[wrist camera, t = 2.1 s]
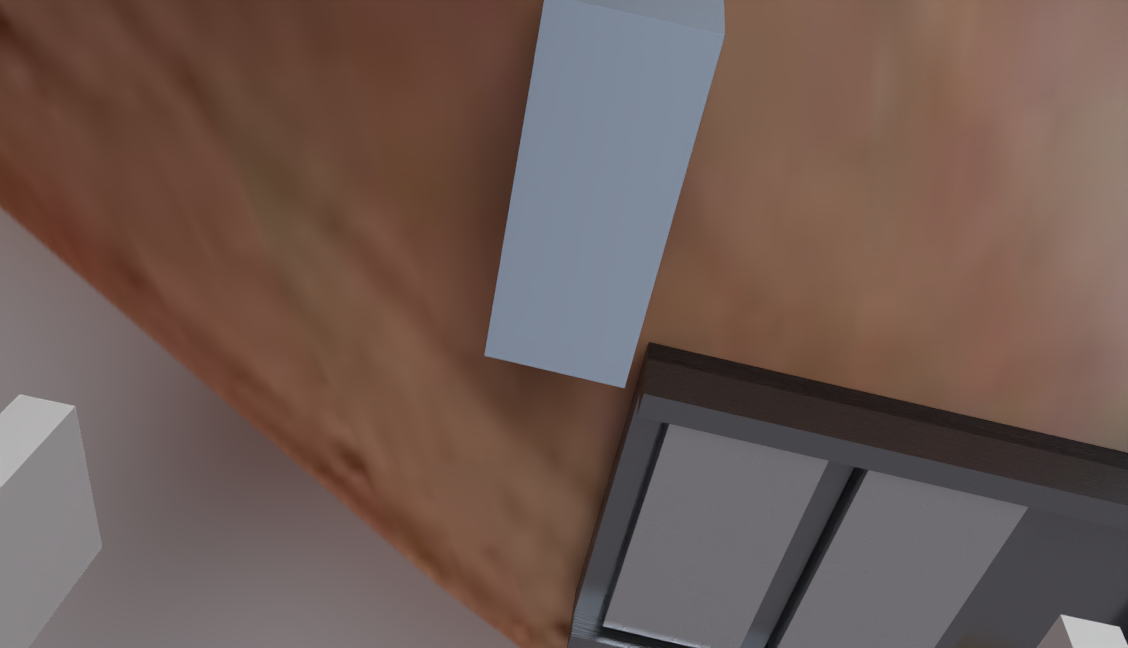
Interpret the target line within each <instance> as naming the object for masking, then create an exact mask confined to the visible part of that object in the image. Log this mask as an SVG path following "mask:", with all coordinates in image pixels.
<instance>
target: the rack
mask: <svg viewBox="0 0 1128 648" xmlns="http://www.w3.org/2000/svg"><path fill="white" fill-rule="evenodd" d="M1060 614H1061V615H1066V616H1070V617H1075V618H1080V619H1084V620H1089V621H1094V622H1099V623H1103V624H1108V625H1113V626H1118V627H1120V629H1121V631H1122V633H1123V636H1124V638H1125V640H1126V642H1127V645H1128V453H1126V452H1121V451H1117V450H1113V449H1108V448H1104V447H1100V446H1095V445H1091V444H1087V443H1082V442H1078V441H1074V440H1069V439H1065V438H1061V437H1056V436H1052V435H1048V434H1043V433H1039V432H1035V431H1030V430H1026V429H1022V428H1017V427H1013V426H1009V425H1004V424H1000V423H996V422H992V421H987V420H983V419H979V418H974V417H970V416H966V415H961V414H957V413H953V412H948V411H944V410H940V409H935V408H931V407H927V406H922V405H918V404H914V403H909V402H905V401H901V400H896V399H892V398H888V397H883V396H879V395H875V394H870V393H866V392H862V391H857V390H853V389H849V388H844V387H840V386H836V385H831V384H827V383H823V382H818V381H814V380H810V379H805V378H801V377H797V376H792V375H788V374H784V373H779V372H775V371H771V370H766V369H762V368H758V367H753V366H749V365H745V364H741V363H736V362H732V361H728V360H723V359H719V358H715V357H710V356H706V355H702V354H697V353H693V352H689V351H684V350H680V349H676V348H671V347H667V346H663V345H658V344H654V343H650V342H649V345H648V348H647V351H646V355H645V358H644V362H643V365H642V369H641V372H640V375H639V379H638V382H637V386H636V389H635V392H634V396H633V399H632V403H631V406H630V409H629V413H628V416H627V420H626V423H625V427H624V430H623V433H622V437H621V440H620V444H619V447H618V450H617V454H616V457H615V461H614V464H613V467H612V471H611V474H610V478H609V481H608V485H607V488H606V491H605V495H604V498H603V502H602V505H601V508H600V512H599V515H598V519H597V522H596V525H595V529H594V532H593V536H592V539H591V543H590V546H589V549H588V553H587V556H586V560H585V563H584V566H583V570H582V573H581V577H580V580H579V583H578V587H577V590H576V594H575V600H574V607H573V613H572V619H571V626H570V632H569V638H568V645H567V648H1037V646H1038V645H1039V644H1040V642H1041V641H1042V639H1043V638H1044V637H1045V635H1046V634H1047V632H1048V631H1049V630H1050V628H1051V627H1052V626H1053V624H1054V623H1055V621H1056V620H1057V619H1058V617H1059V616H1060Z"/></svg>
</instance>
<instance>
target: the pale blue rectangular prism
mask: <svg viewBox="0 0 1128 648" xmlns="http://www.w3.org/2000/svg"><path fill="white" fill-rule="evenodd" d="M724 36H725V18H724V0H544V4H543V10H542V16H541V22H540V28H539V34H538V40H537V46H536V52H535V57H534V63H533V69H532V75H531V81H530V87H529V93H528V99H527V105H526V111H525V117H524V123H523V129H522V135H521V141H520V147H519V153H518V159H517V165H516V171H515V177H514V182H513V188H512V194H511V200H510V206H509V212H508V218H507V224H506V230H505V236H504V242H503V248H502V254H501V260H500V266H499V272H498V278H497V284H496V290H495V296H494V301H493V307H492V313H491V319H490V325H489V331H488V337H487V343H486V349H485V355H484V356H488V357H492V358H497V359H501V360H505V361H509V362H514V363H518V364H522V365H527V366H531V367H535V368H540V369H544V370H548V371H553V372H557V373H561V374H566V375H570V376H574V377H578V378H583V379H587V380H591V381H596V382H600V383H604V384H609V385H613V386H617V387H622V388H625V385H626V381H627V378H628V374H629V371H630V367H631V364H632V360H633V357H634V353H635V350H636V346H637V343H638V339H639V336H640V332H641V328H642V325H643V321H644V318H645V314H646V311H647V307H648V304H649V300H650V297H651V293H652V290H653V286H654V283H655V279H656V276H657V272H658V269H659V265H660V262H661V258H662V255H663V251H664V248H665V244H666V241H667V237H668V233H669V230H670V226H671V223H672V219H673V216H674V212H675V209H676V205H677V202H678V198H679V195H680V191H681V188H682V184H683V181H684V177H685V174H686V170H687V167H688V163H689V160H690V156H691V153H692V149H693V146H694V142H695V138H696V135H697V131H698V128H699V124H700V121H701V117H702V114H703V110H704V107H705V103H706V100H707V96H708V93H709V89H710V86H711V82H712V79H713V75H714V72H715V68H716V65H717V61H718V58H719V54H720V51H721V47H722V43H723V40H724Z"/></svg>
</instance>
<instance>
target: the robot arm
mask: <svg viewBox="0 0 1128 648" xmlns="http://www.w3.org/2000/svg"><path fill="white" fill-rule="evenodd" d="M101 548H102V542H101V537H100V532H99V527H98V521H97V516H96V512H95V506H94V500H93V495H92V490H91V485H90V479H89V474H88V469H87V464H86V459H85V453H84V448H83V442H82V437H81V432H80V427H79V422H78V416H77V411H76V406H72V405H68V404H63V403H59V402H54V401H49V400H45V399H40V398H35V397H30V396H26V395H21V394H20V395H19V396H17V397H16V398H15V399H14V401H12V402H11V403H10V404H9V405H8V406H7V408H5V409H4V410H3V411H2V412H1V413H0V648H29V646H30V645H31V644H32V642H33V641H34V640H35V638H36V637H37V636H38V634H39V633H40V631H41V630H42V629H43V627H44V626H45V625H46V623H47V622H48V620H49V619H50V618H51V616H52V615H53V614H54V612H55V611H56V609H57V608H58V607H59V605H60V604H61V603H62V601H63V600H64V599H65V597H66V596H67V594H68V593H69V592H70V590H71V589H72V588H73V586H74V585H75V584H76V582H77V581H78V580H79V578H80V577H81V575H82V574H83V573H84V571H85V570H86V568H87V567H88V566H89V564H90V563H91V562H92V560H93V559H94V558H95V556H96V555H97V553H98V552H99V551H100V549H101ZM1037 648H1128V645H1127V642H1126V640H1125V638H1124V636H1123V633H1122V631H1121V629H1120V627H1118V626H1113V625H1108V624H1103V623H1099V622H1094V621H1089V620H1084V619H1080V618H1075V617H1070V616H1066V615H1061V614H1060V616H1059V617H1058V619H1057V620H1056V621H1055V623H1054V624H1053V626H1052V627H1051V628H1050V630H1049V631H1048V632H1047V634H1046V635H1045V637H1044V638H1043V639H1042V641H1041V642H1040V644H1039V645H1038V646H1037Z"/></svg>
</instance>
